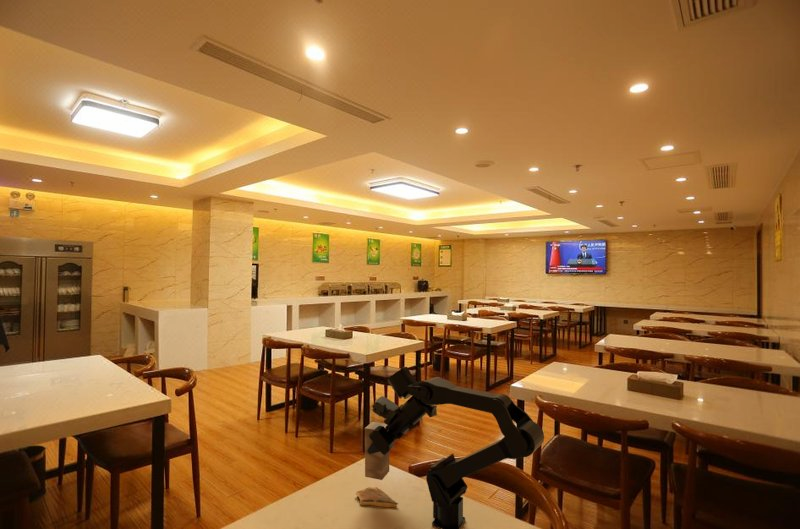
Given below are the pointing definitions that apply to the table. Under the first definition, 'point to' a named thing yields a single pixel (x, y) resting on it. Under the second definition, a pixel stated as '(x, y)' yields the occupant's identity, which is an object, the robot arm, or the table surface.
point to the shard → (375, 497)
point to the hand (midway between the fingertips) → (372, 448)
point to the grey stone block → (375, 456)
